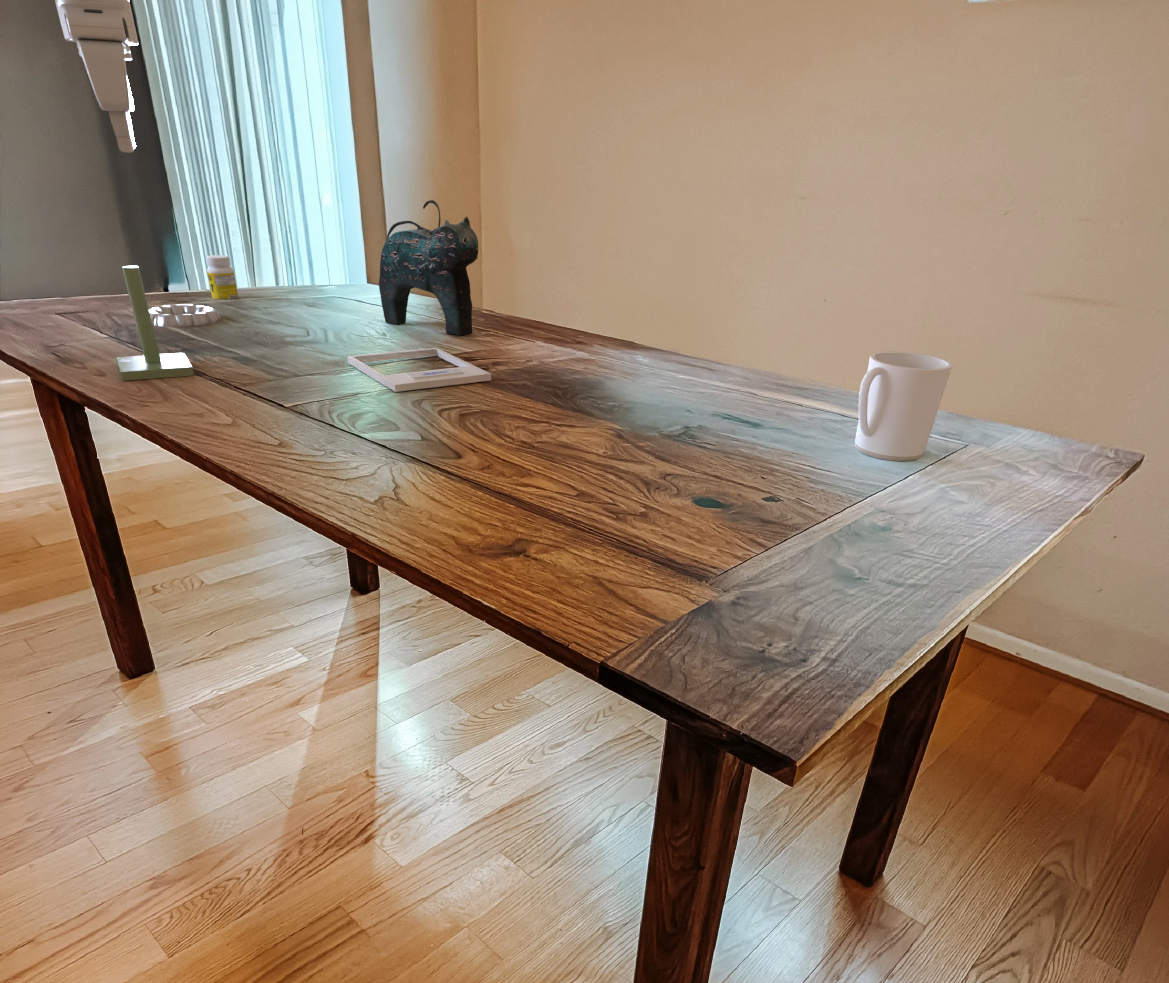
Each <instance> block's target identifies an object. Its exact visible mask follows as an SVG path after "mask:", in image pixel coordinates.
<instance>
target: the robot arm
mask: <svg viewBox="0 0 1169 983" xmlns="http://www.w3.org/2000/svg"><path fill="white" fill-rule="evenodd" d="M54 2H55V6H56V10H57V14H58V18H59V23H60V26H61V30H62V34H63V38H64V40H65V41H66V42H72V43H76V47H77V49H78V55H79V57H80V58H82V62H83V64H84V67H85V70H86V73H87V76H88V79H89V82H90V85H91V87H92V88H91V89H92V90H93V93H94V96H95V99H96V101H97V103H98V106H99V108H100V109H101V110H102V111H105V112H108V116H109V120H110V123H111V126H112V129H113V131H114V132H113V133H114V136H115V137H116V141H117V146H118V150H119V151H120V152H122V153H133V152H134V150H135V149H136V147H137V145H136V142H135V137H134V130H133V124H132V119H131V115H130V112H134V111H135V105H134V98H133V96H132V91H131V87H130V82H129V79H128V72H127V64H126V61H132V60H133V57H132V53H131V48H130V47H131V46H138V45H139V39H138V38H139V37H138V33H137V30H136V25H135V21H134V20H135V19H134V15H133V11H132V6H131V3H130V0H54Z"/></svg>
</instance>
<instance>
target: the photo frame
mask: <svg viewBox="0 0 1169 983" xmlns="http://www.w3.org/2000/svg"><path fill="white" fill-rule="evenodd" d="M431 356H436V357H438V358H440V359H442V360H444V361H446V362H448V363H450V364H452V365H454V366H456V367H448V368H447V367H446V368H439V369H437V368H436V369H429V370H420V371H411V372H402V373H393V374H383V373H381V372H379V371H378V370H376V369H374V368H372V367H371V366H369V365H367V364H366V363H371V362H383V361H392V360H393V361H394V360H401V359H412V358H422V357H431ZM346 358H347V359H346V360H347V364H349V365H351V366H353V367H354V368H355V369H357V370H359V371H360V372H362V373H364V375H367V376H368V377H371V378H372V379H374V380H375V381H376V382H379V383H380V384H382V385H383V386H385V387H387V388H388V389H390V390H391V391H393V392H394V393H398V392H406V391H414V390H422V389H430V388H439V387H446V386H447V387H448V386H456V385H465V384H471V383H472V384H473V383H479V382H490V381H492V373H490V372H488V371H486V370H484V369H482V368H480V367H479V366H476V365H474V364H472V363H470V362H468V361H466V360H463V359H461V358H459V357H457V356H455V355H453V354H450V353H448V352H446V351H445V350H443V349H441V348H438V347H430V348H419V349H410V350H409V349H408V350H400V351H399V350H398V351H389V352H388V351H387V352H378V353H368V354H358V355H348V356H347V357H346Z"/></svg>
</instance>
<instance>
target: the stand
mask: <svg viewBox="0 0 1169 983" xmlns="http://www.w3.org/2000/svg"><path fill="white" fill-rule="evenodd" d="M121 270H122V274H123V278H124V282H125V285H126V289H127V294H128V297H129V298H128V299H129V302H130V306H131V310H132V314H133V318H134V322H135V325H136V330H137V333H138V339H139V342H140V347H141V349H142V350H141V351H142V353H143V355H130V356H129V355H128V356H116V357H115V360H116V364H117V367H118V371H119V375H120V378H121V381H122V382H128V381H129V382H130V381H141V380H154V379H156V380H157V379H168V378H181V377H192V376H193V377H194V376H195V373H194V368H193V366H192V364H191V362H190V360H189V359H188V357H187V355H186V354H185V352H175V353H160V351H159V350H160V349H159V346H158V341H157V338H156V333H155V329H154V326H153V325H152V321H151V316H150V312H149V309H150V308H149V305H148V301H147V296H146V292H145V288H144V282H143V279H142V275H141V271H140V267H139V266H138V265H123V266H122V267H121Z"/></svg>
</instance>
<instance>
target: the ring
mask: <svg viewBox="0 0 1169 983" xmlns="http://www.w3.org/2000/svg"><path fill="white" fill-rule="evenodd" d="M149 312H150V316H151V321H152V325H153V327H160V328H161V327H163V328H186V327H187V328H188V327H200V326H206V325H211V324H216V323H217V322H219V321H221V320H222V318H221V315H220V313H219V312H218V311H217V310H216V309H215V308H213V307H210V306H205V305H201V304H200V305H199V304H168V305H161V306H155V307H151V308H149Z"/></svg>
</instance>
